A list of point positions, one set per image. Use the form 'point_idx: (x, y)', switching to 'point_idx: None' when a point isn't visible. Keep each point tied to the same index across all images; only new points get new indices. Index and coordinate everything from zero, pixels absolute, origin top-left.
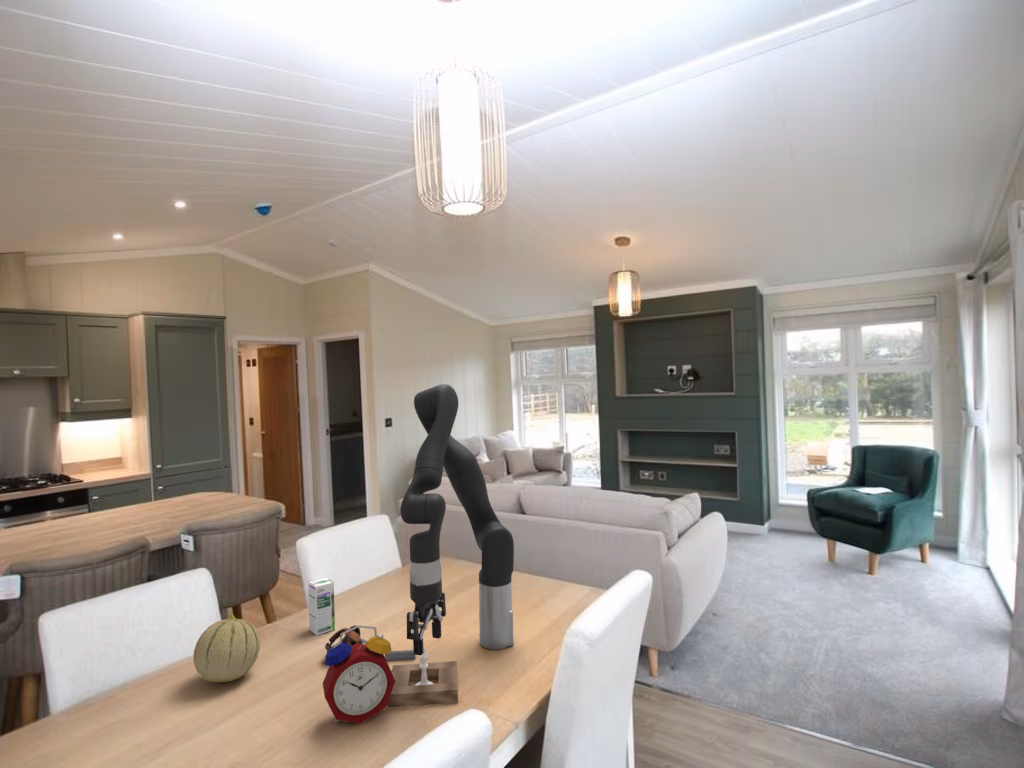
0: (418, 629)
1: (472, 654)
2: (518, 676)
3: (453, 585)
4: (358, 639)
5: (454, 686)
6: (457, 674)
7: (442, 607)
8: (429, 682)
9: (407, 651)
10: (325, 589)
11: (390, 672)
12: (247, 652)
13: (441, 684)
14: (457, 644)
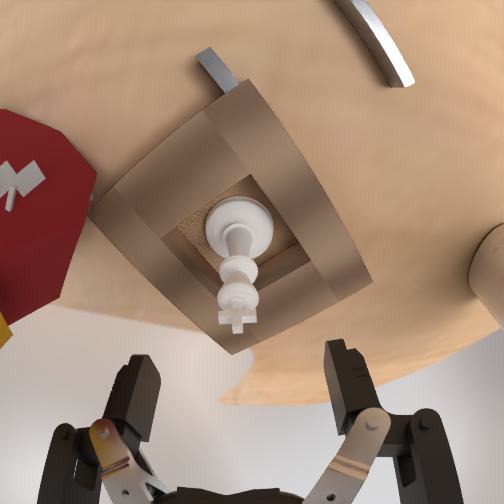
0: (99, 489)
1: (450, 241)
2: (373, 362)
3: None
4: None
5: (239, 344)
6: (299, 322)
7: (401, 489)
8: (258, 242)
9: (393, 57)
10: None
11: (29, 311)
12: None
13: None
14: (486, 176)
